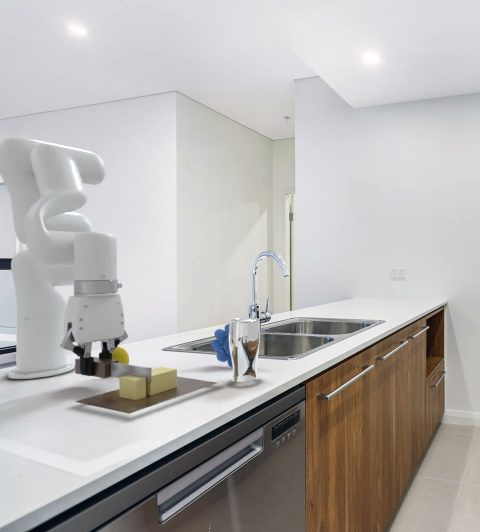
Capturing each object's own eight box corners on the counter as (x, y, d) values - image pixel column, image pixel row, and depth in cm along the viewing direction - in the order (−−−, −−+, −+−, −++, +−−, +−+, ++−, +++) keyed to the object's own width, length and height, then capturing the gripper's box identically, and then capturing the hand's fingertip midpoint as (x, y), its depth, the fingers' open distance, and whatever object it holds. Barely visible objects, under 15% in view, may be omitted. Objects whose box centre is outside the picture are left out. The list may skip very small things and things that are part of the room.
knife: (75, 373, 87) (74, 359, 87) (89, 370, 89) (89, 356, 89) (144, 384, 79) (143, 368, 79) (157, 380, 81) (157, 365, 81)
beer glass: (223, 383, 93) (223, 319, 93) (251, 377, 98) (251, 316, 98) (236, 389, 88) (237, 322, 88) (265, 383, 94) (265, 319, 93)
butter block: (134, 392, 83) (134, 373, 83) (160, 384, 88) (160, 366, 88) (150, 395, 81) (150, 376, 81) (177, 387, 86) (177, 368, 86)
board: (74, 407, 77) (74, 401, 77) (168, 379, 96) (168, 374, 96) (129, 420, 71) (129, 413, 71) (218, 387, 90) (218, 382, 90)
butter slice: (119, 397, 80) (119, 377, 80) (129, 394, 82) (129, 374, 82) (136, 400, 78) (136, 380, 78) (145, 397, 80) (145, 377, 80)
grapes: (208, 373, 101) (208, 326, 101) (212, 367, 108) (212, 323, 107) (257, 370, 105) (257, 324, 105) (257, 364, 111) (257, 321, 111)
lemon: (114, 382, 94) (114, 348, 94) (95, 380, 95) (95, 347, 95) (134, 375, 99) (134, 343, 99) (116, 374, 100) (116, 342, 100)
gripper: (122, 286, 95) (123, 363, 95) (40, 290, 80) (40, 381, 80) (144, 287, 92) (144, 365, 93) (63, 291, 77) (63, 385, 77)
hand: (96, 372), depth 86 cm, fingers closed on knife, 2 cm apart
